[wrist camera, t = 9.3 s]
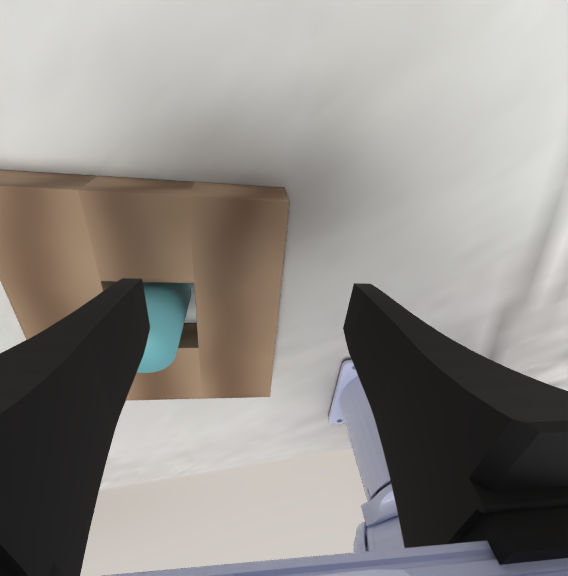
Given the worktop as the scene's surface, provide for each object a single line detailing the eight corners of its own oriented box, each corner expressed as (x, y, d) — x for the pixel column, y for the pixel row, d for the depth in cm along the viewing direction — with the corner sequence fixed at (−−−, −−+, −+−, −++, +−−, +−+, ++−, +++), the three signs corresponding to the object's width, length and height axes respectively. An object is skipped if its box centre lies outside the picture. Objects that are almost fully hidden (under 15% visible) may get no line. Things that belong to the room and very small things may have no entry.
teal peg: (192, 270, 21) (177, 325, 16) (189, 314, 23) (175, 374, 18) (132, 263, 20) (100, 318, 16) (134, 309, 22) (106, 370, 18)
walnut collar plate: (284, 187, 19) (289, 201, 17) (267, 371, 27) (270, 396, 25) (-7, 169, 17) (-43, 183, 15) (70, 374, 25) (54, 402, 23)
